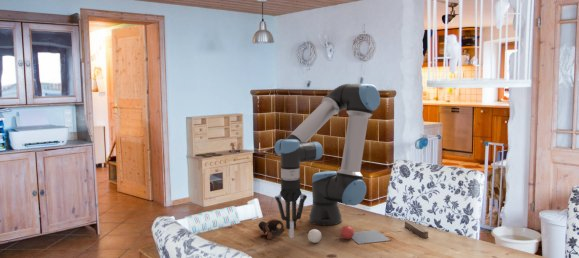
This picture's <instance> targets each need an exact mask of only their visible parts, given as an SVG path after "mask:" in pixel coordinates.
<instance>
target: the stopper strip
mask: <svg viewBox="0 0 579 258" xmlns="http://www.w3.org/2000/svg"><path fill="white" fill-rule="evenodd" d="M404 227H405V228H406V229H408V230H409V231H411V232H412V233H414V234H416V235H418V237H420V238H422V239H427V238H429V231H428V230H426V229H425V228H423V227H421V226H419V225H417V224H416V223H414V222H413V221H411V220H404Z"/></svg>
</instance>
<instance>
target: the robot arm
mask: <svg viewBox="0 0 579 258" xmlns="http://www.w3.org/2000/svg"><path fill="white" fill-rule="evenodd" d="M380 103H381V95H380V92H379V90H378V88H377V87H376V85H374V84H371V83H344V84H341V85H339V86H337V87H335V88H334V89H333V90H331V91H330V92H329V93H327V94H326V96H324V98H322V100H321V103H320V104H319V105H318V106H317V107H316V108H315V110H313V111H312V112H311V113H310V114H309V115H308V116H307V117H306V118H305V119H304V120H303V122H301V123H300V124H299V125H298V126H297V127H296V128H295V129H294V130H293V131H292V132H291V133H290V134H288V136H287V137H286V138H283V139H281V138H280V139H278V140H276V142H275V144H274V152H275V154H276V155H277V156H279V157H280V178H281V180H280V186H281V187H280V192H279V194H278V195H276V196H274V199H275V201H276V202H277V206H278V210H279V214H280V218H281V220H283V221H285V228H286V229H287V230H288V237H289V238H290V239H292V238H295V229H297V221H298V220H300V219H301V218H302V214H303V210H304V206H305V205H304V204H305V201H306V199H308V196H307V195H306V194H304V193H302V190H301V180H300V177H301V163H303V162H312V161H316V160H319V159H321V158H322V157H323V154H324V152H323V151H324V148H323V146H322V144H321V143H320V142H319V141H310V140H311V138H313V137H314V136H315V135H316V133H317V132H318V131H319V130H321V128H322V127H323V126H324V125H326V123H327V122H328V121H329V120H330V119H332V117H333V116H334V115H338V114H339V113H340V112H341V111H344V110H345V112H346V114H348V119H347V120H348V122H347V127H346V132H345V133H346V134H345V141H344V147H343V153H342V157H341V158H342V159H341V166H340V169H338V170H337V171H335V170H327V171H320V172H316V173H314V174H313V175H312V176H311V177H312V178H311V180H312V181H311V190H312V191H311V192H312V205H311V209H310V214H309V216H308V217H309V218H308V219H309V220H308V221H309V222H310V223H311V224H314V225H317V226H333V225H338V224H340V223H341V222H342V221H343V219H342V218H343V217H342V213H341V211H340V210H341V209H340V207H339V203H340V204H344V205H345V206H346V205H347V206H354V207H355V206H357V205H359V204H360V203H361V202H363V200H364V199H365V197H366V194H367V184H366V182H365V181H364V180H363V177H364V176H363V174H362V173H361V169H362V161H363V155H364V148H365V144H366V142H365V141H366V135H367V128H368V124H369V123H368V122H369V119H370V118H371V117H372V116H373V111H375V110H377V109H378V107H379V106H380ZM309 141H310V142H309ZM299 198H300V199H299ZM282 199H283V201H284V203H285V211H284V208H283V203H282ZM298 199H299V203H298V207H297V201H298Z"/></svg>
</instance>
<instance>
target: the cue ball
mask: <svg viewBox="0 0 579 258" xmlns="http://www.w3.org/2000/svg"><path fill="white" fill-rule="evenodd" d="M307 238H308V240H309V241H310V242H311V243H313V244H316V243H319V242H320V241H321V239H322V232H321V231H320V230H318V229H317V228H313V229H311V230H309V232H308V234H307Z"/></svg>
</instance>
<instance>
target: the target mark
mask: <svg viewBox="0 0 579 258" xmlns="http://www.w3.org/2000/svg"><path fill="white" fill-rule="evenodd" d="M351 239H352V240H353V241H354V242H355V243H356V244H357V245H362V244H373V243H382V242H383V243H384V242H391V239H390V238H389V237H387V236H385V235H384V234H383V233H382V232H380V231H379V230H377V229H372V230H371V229H370V230H363V231H361V230H360V231H354V236H353V237H352V238H351Z"/></svg>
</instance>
